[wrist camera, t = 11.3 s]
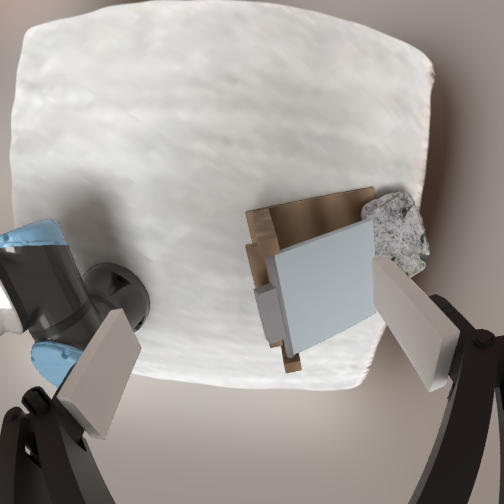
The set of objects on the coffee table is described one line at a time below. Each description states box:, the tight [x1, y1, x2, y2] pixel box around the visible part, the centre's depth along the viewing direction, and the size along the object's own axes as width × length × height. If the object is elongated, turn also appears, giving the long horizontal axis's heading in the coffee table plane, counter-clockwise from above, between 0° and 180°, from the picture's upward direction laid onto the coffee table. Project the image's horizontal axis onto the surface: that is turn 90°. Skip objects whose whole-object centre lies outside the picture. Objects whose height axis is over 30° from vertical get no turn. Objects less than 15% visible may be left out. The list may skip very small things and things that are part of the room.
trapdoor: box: [253, 219, 376, 358], centre depth 40 cm, size 19×17×2 cm
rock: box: [361, 191, 429, 278], centre depth 46 cm, size 15×10×7 cm
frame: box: [246, 187, 375, 373], centre depth 44 cm, size 22×21×15 cm
